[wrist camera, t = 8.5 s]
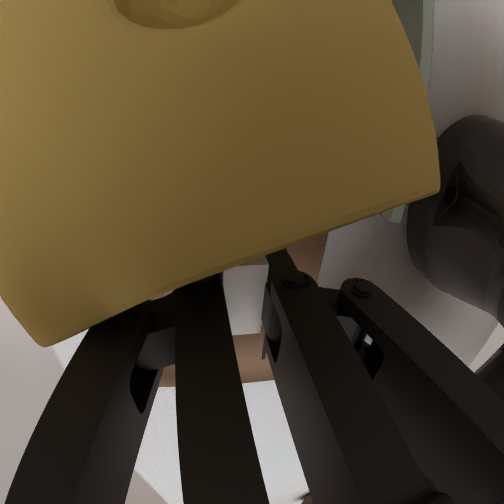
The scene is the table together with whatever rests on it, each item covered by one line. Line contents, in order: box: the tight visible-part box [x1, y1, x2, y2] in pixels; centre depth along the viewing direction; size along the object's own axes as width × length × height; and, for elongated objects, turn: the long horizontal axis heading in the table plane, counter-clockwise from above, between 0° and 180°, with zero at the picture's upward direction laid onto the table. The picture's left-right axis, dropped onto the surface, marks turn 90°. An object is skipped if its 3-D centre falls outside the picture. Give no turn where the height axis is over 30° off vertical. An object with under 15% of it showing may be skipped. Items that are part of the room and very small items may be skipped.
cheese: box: [0, 0, 440, 347], centre depth 8 cm, size 10×11×10 cm
